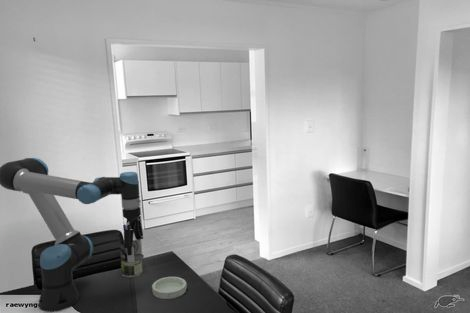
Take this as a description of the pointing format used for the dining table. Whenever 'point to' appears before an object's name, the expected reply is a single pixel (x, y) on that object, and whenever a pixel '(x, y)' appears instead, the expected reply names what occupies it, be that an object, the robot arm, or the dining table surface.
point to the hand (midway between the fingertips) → (135, 257)
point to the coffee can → (129, 265)
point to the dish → (169, 287)
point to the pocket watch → (136, 256)
